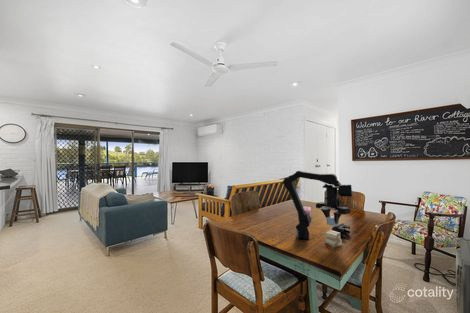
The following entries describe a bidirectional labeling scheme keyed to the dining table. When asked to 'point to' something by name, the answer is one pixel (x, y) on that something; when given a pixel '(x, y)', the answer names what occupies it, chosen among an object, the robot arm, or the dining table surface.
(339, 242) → the tower base
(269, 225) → the dining table surface
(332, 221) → the blue block
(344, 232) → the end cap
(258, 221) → the dining table surface
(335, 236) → the tower top
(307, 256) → the dining table surface
